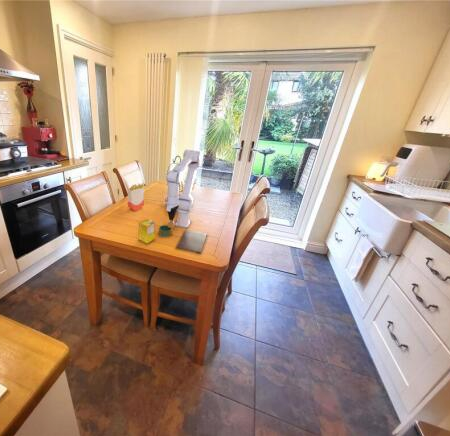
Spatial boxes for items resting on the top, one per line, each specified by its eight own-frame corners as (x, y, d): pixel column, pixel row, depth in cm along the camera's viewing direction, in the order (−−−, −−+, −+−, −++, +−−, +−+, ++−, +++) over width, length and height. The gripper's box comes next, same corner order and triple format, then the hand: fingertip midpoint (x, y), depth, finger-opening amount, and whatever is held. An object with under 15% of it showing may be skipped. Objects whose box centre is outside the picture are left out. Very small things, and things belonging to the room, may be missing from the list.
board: (185, 231, 134) (186, 229, 134) (206, 235, 131) (206, 233, 131) (176, 248, 117) (176, 247, 117) (200, 253, 114) (200, 252, 114)
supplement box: (146, 236, 127) (146, 218, 123) (154, 240, 124) (155, 221, 119) (138, 240, 123) (138, 222, 118) (147, 244, 120) (147, 225, 115)
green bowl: (161, 230, 134) (161, 224, 132) (172, 232, 132) (173, 226, 131) (157, 236, 128) (157, 229, 126) (169, 238, 126) (169, 231, 125)
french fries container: (127, 209, 159) (126, 184, 152) (139, 205, 167) (139, 181, 159) (131, 211, 157) (131, 186, 149) (143, 207, 164) (144, 182, 156)
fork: (169, 225, 128) (169, 210, 124) (174, 226, 127) (175, 211, 123) (167, 227, 126) (168, 212, 122) (173, 228, 125) (174, 213, 121)
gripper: (169, 189, 126) (168, 212, 132) (160, 198, 114) (160, 223, 119) (182, 191, 124) (180, 214, 130) (174, 200, 112) (173, 225, 117)
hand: (171, 218), depth 125 cm, fingers closed on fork, 1 cm apart
